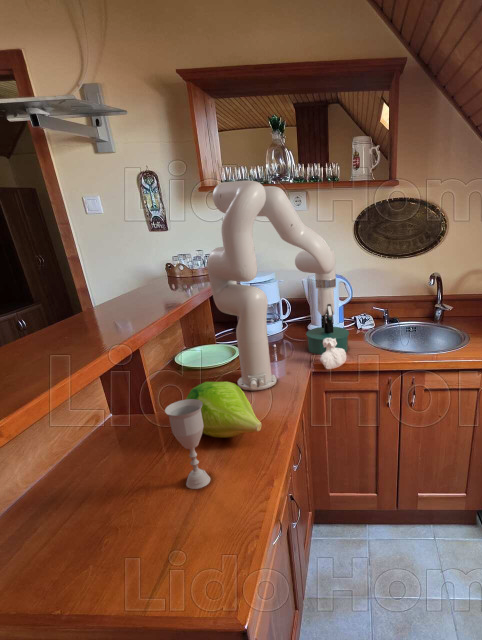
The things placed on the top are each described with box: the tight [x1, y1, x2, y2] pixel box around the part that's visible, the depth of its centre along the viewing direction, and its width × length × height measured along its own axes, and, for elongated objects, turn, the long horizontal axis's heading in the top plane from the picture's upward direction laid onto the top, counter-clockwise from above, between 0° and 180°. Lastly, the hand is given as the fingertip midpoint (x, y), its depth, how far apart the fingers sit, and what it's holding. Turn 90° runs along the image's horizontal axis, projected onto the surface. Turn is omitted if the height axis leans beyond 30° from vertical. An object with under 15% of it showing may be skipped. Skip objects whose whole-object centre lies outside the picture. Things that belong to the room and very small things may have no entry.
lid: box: [305, 319, 350, 340], centre depth 163 cm, size 17×17×7 cm
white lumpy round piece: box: [319, 338, 347, 370], centre depth 148 cm, size 12×8×11 cm
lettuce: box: [185, 381, 263, 439], centre depth 106 cm, size 15×22×15 cm
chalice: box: [164, 398, 211, 490], centre depth 87 cm, size 7×7×18 cm
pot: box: [306, 335, 349, 356], centre depth 165 cm, size 16×16×6 cm
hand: (327, 329), depth 163 cm, fingers open, 6 cm apart
